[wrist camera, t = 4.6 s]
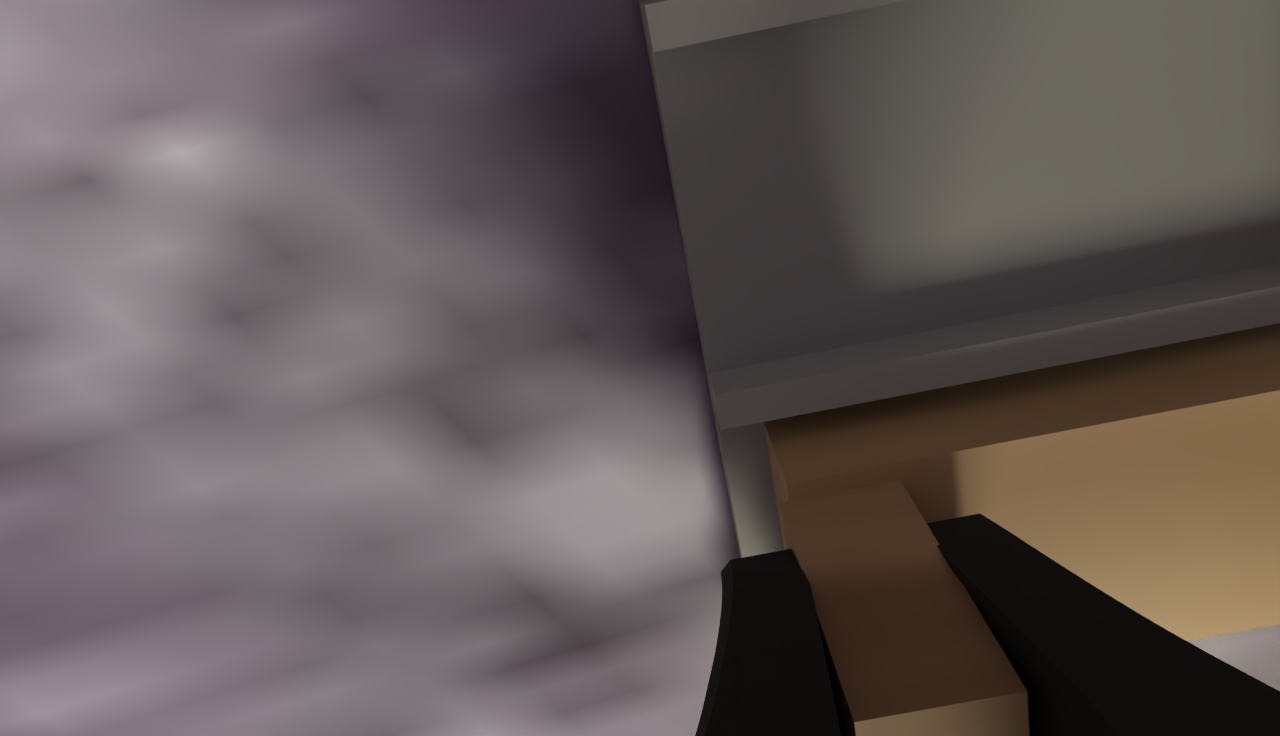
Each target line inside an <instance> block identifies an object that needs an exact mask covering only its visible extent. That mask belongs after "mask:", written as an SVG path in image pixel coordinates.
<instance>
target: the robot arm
mask: <svg viewBox="0 0 1280 736" xmlns="http://www.w3.org/2000/svg"><path fill="white" fill-rule="evenodd" d="M927 525H928V527H929V528H930V530H931V532H932V533H933V535H934V537H935V538H936V540H937V542H938V543H939V545H937V546H938V548H939V550H940V551H941V553H942V555H943V556H944V558H945V560H946V561H947V563H948V565H949V566H950V568H951V570H952V571H953V572H954V574H955V575H956V576H957V578H958V579H959V580H960V581H961V583H962V584H963V585H964V587H965V588H966V590H967V592H968V593H969V595H970V597H971V598H972V600H973V602H974V603H975V605H976V607H977V608H978V610H979V612H980V613H981V615H982V617H983V618H984V620H985V622H986V623H987V625H988V627H989V628H990V630H991V632H992V633H993V635H994V637H995V638H996V640H997V642H998V643H999V645H1000V647H1001V648H1002V650H1003V652H1004V653H1005V655H1006V657H1007V658H1008V660H1009V662H1010V663H1011V665H1012V667H1013V668H1014V670H1015V672H1016V673H1017V675H1018V677H1019V678H1020V680H1021V682H1022V683H1023V685H1024V687H1025V688H1026V690H1027V694H1028V714H1029V734H1030V736H1280V691H1278V690H1276V689H1274V688H1272V687H1270V686H1268V685H1267V684H1265V683H1263V682H1261V681H1259V680H1257V679H1255V678H1253V677H1252V676H1250V675H1248V674H1246V673H1244V672H1242V671H1240V670H1238V669H1236V668H1235V667H1233V666H1231V665H1229V664H1227V663H1225V662H1223V661H1221V660H1220V659H1218V658H1216V657H1214V656H1212V655H1210V654H1208V653H1207V652H1205V651H1203V650H1201V649H1200V648H1198V647H1196V646H1194V645H1192V644H1191V643H1189V642H1187V641H1185V640H1184V639H1182V638H1180V637H1178V636H1177V635H1175V634H1173V633H1171V632H1170V631H1168V630H1166V629H1164V628H1163V627H1161V626H1159V625H1158V624H1156V623H1154V622H1152V621H1151V620H1149V619H1147V618H1146V617H1144V616H1142V615H1141V614H1139V613H1137V612H1136V611H1134V610H1132V609H1131V608H1129V607H1127V606H1126V605H1124V604H1122V603H1121V602H1119V601H1117V600H1116V599H1114V598H1112V597H1111V596H1109V595H1108V594H1106V593H1104V592H1103V591H1101V590H1100V589H1098V588H1096V587H1095V586H1093V585H1092V584H1090V583H1088V582H1087V581H1085V580H1084V579H1082V578H1080V577H1079V576H1077V575H1076V574H1074V573H1073V572H1071V571H1069V570H1068V569H1066V568H1065V567H1063V566H1062V565H1060V564H1058V563H1057V562H1055V561H1054V560H1052V559H1051V558H1049V557H1047V556H1046V555H1044V554H1043V553H1041V552H1040V551H1038V550H1037V549H1035V548H1034V547H1032V546H1030V545H1029V544H1027V543H1026V542H1024V541H1023V540H1021V539H1020V538H1018V537H1017V536H1015V535H1014V534H1012V533H1010V532H1009V531H1007V530H1006V529H1004V528H1003V527H1001V526H1000V525H998V524H996V523H995V522H993V521H992V520H990V519H988V518H987V517H985V516H983V515H982V514H980V513H979V514H974V515H969V516H963V517H958V518H953V519H947V520H942V521H937V522H931V523H927ZM721 577H722V609H721V619H720V627H719V633H718V639H717V646H716V652H715V657H714V661H713V666H712V670H711V675H710V679H709V684H708V688H707V692H706V697H705V701H704V706H703V710H702V714H701V718H700V721H699V725H698V728H697V732H696V735H695V736H841V732H840V727H839V722H838V717H837V712H836V707H835V702H834V697H833V692H832V687H831V682H830V678H829V673H828V668H827V663H826V658H825V653H824V648H823V643H822V638H821V633H820V628H819V624H818V619H817V614H816V609H815V604H814V599H813V594H812V590H811V586H810V584H809V582H808V579H807V577H806V575H805V573H804V570H802V569H801V567H800V565H799V563H798V561H797V559H796V557H795V555H794V553H793V551H792V549H787V550H781V551H776V552H770V553H765V554H760V555H754V556H749V557H744V558H738V559H733V560H730V561H729V563H728V564H727V565H726V566H725V568H724V569H723V570H722V571H721Z"/></svg>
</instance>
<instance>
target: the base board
mask: <svg viewBox="0 0 1280 736" xmlns="http://www.w3.org/2000/svg"><path fill="white" fill-rule="evenodd" d="M639 6H640V11H641V17H642V22H643V28H644V33H645V39H646V44H647V50H648V55H649V61H650V66H651V72H652V78H653V83H654V89H655V94H656V100H657V105H658V111H659V116H660V122H661V127H662V133H663V138H664V144H665V149H666V155H667V160H668V166H669V171H670V177H671V182H672V188H673V193H674V199H675V204H676V210H677V215H678V221H679V226H680V232H681V237H682V243H683V248H684V254H685V259H686V265H687V270H688V276H689V281H690V287H691V292H692V298H693V304H694V309H695V315H696V320H697V326H698V331H699V337H700V342H701V348H702V353H703V359H704V364H705V370H706V375H707V381H708V386H709V392H710V397H711V403H712V408H713V414H714V419H715V425H716V430H717V436H718V441H719V447H720V452H721V458H722V463H723V469H724V474H725V480H726V485H727V491H728V496H729V502H730V507H731V513H732V519H733V524H734V530H735V535H736V541H737V546H738V552H739V557H740V558H744V557H749V556H754V555H760V554H765V553H770V552H776V551H781V550H784V547H783V541H782V534H781V528H780V522H779V516H778V509H777V503H776V497H775V491H774V484H773V478H772V472H771V466H770V459H769V453H768V447H767V441H766V434H765V428H764V422H766V421H771V420H776V419H781V418H787V417H792V416H797V415H802V414H807V413H813V412H818V411H823V410H828V409H834V408H839V407H844V406H849V405H854V404H860V403H865V402H870V401H875V400H881V399H886V398H891V397H896V396H901V395H907V394H912V393H917V392H922V391H928V390H933V389H938V388H943V387H948V386H954V385H959V384H964V383H969V382H975V381H980V380H985V379H990V378H995V377H1001V376H1006V375H1011V374H1016V373H1022V372H1027V371H1032V370H1037V369H1042V368H1048V367H1053V366H1058V365H1063V364H1069V363H1074V362H1079V361H1084V360H1089V359H1095V358H1100V357H1105V356H1110V355H1116V354H1121V353H1126V352H1131V351H1136V350H1142V349H1147V348H1152V347H1157V346H1163V345H1168V344H1173V343H1178V342H1183V341H1189V340H1194V339H1199V338H1204V337H1210V336H1215V335H1220V334H1225V333H1230V332H1236V331H1241V330H1246V329H1251V328H1257V327H1262V326H1267V325H1272V324H1277V323H1280V0H644V1H639Z"/></svg>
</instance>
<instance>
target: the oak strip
mask: <svg viewBox="0 0 1280 736" xmlns="http://www.w3.org/2000/svg"><path fill="white" fill-rule="evenodd" d="M764 428H765V434H766V441H767V447H768V453H769V459H770V466H771V472H772V478H773V484H774V491H775V497H776V503H777V509H778V516H779V522H780V528H781V534H782V541H783V547H784V550H787V549H792V551H793V553H794V555H795V557H796V559H797V561H798V563H799V565H800V567H801V569H802V570H804V573H805V575H806V577H807V579H808V582H809V584H810V586H811V590H812V594H813V599H814V604H815V609H816V614H817V619H818V624H819V628H820V633H821V638H822V643H823V648H824V653H825V658H826V663H827V668H828V673H829V678H830V682H831V687H832V692H833V697H834V702H835V707H836V712H837V717H838V722H839V727H840V732H841V736H1030V734H1029V714H1028V694H1027V690H1026V688H1025V687H1024V685H1023V683H1022V682H1021V680H1020V678H1019V677H1018V675H1017V673H1016V672H1015V670H1014V668H1013V667H1012V665H1011V663H1010V662H1009V660H1008V658H1007V657H1006V655H1005V653H1004V652H1003V650H1002V648H1001V647H1000V645H999V643H998V642H997V640H996V638H995V637H994V635H993V633H992V632H991V630H990V628H989V627H988V625H987V623H986V622H985V620H984V618H983V617H982V615H981V613H980V612H979V610H978V608H977V607H976V605H975V603H974V602H973V600H972V598H971V597H970V595H969V593H968V592H967V590H966V588H965V587H964V585H963V584H962V583H961V581H960V580H959V579H958V578H957V576H956V575H955V574H954V572H953V571H952V570H951V568H950V566H949V565H948V563H947V561H946V560H945V558H944V556H943V555H942V553H941V551H940V550H939V548H938V546H937V545H939V543H938V542H937V540H936V538H935V537H934V535H933V533H932V532H931V530H930V528H929V527H928V525H927V523H931V522H937V521H942V520H947V519H953V518H958V517H963V516H969V515H974V514H979V513H980V514H982V515H983V516H985V517H987V518H988V519H990V520H992V521H993V522H995V523H996V524H998V525H1000V526H1001V527H1003V528H1004V529H1006V530H1007V531H1009V532H1010V533H1012V534H1014V535H1015V536H1017V537H1018V538H1020V539H1021V540H1023V541H1024V542H1026V543H1027V544H1029V545H1030V546H1032V547H1034V548H1035V549H1037V550H1038V551H1040V552H1041V553H1043V554H1044V555H1046V556H1047V557H1049V558H1051V559H1052V560H1054V561H1055V562H1057V563H1058V564H1060V565H1062V566H1063V567H1065V568H1066V569H1068V570H1069V571H1071V572H1073V573H1074V574H1076V575H1077V576H1079V577H1080V578H1082V579H1084V580H1085V581H1087V582H1088V583H1090V584H1092V585H1093V586H1095V587H1096V588H1098V589H1100V590H1101V591H1103V592H1104V593H1106V594H1108V595H1109V596H1111V597H1112V598H1114V599H1116V600H1117V601H1119V602H1121V603H1122V604H1124V605H1126V606H1127V607H1129V608H1131V609H1132V610H1134V611H1136V612H1137V613H1139V614H1141V615H1142V616H1144V617H1146V618H1147V619H1149V620H1151V621H1152V622H1154V623H1156V624H1158V625H1159V626H1161V627H1163V628H1164V629H1166V630H1168V631H1170V632H1171V633H1173V634H1175V635H1177V636H1178V637H1180V638H1182V639H1184V640H1185V641H1192V640H1198V639H1203V638H1209V637H1214V636H1220V635H1225V634H1231V633H1236V632H1242V631H1247V630H1253V629H1258V628H1264V627H1270V626H1275V625H1280V323H1277V324H1272V325H1267V326H1262V327H1257V328H1251V329H1246V330H1241V331H1236V332H1230V333H1225V334H1220V335H1215V336H1210V337H1204V338H1199V339H1194V340H1189V341H1183V342H1178V343H1173V344H1168V345H1163V346H1157V347H1152V348H1147V349H1142V350H1136V351H1131V352H1126V353H1121V354H1116V355H1110V356H1105V357H1100V358H1095V359H1089V360H1084V361H1079V362H1074V363H1069V364H1063V365H1058V366H1053V367H1048V368H1042V369H1037V370H1032V371H1027V372H1022V373H1016V374H1011V375H1006V376H1001V377H995V378H990V379H985V380H980V381H975V382H969V383H964V384H959V385H954V386H948V387H943V388H938V389H933V390H928V391H922V392H917V393H912V394H907V395H901V396H896V397H891V398H886V399H881V400H875V401H870V402H865V403H860V404H854V405H849V406H844V407H839V408H834V409H828V410H823V411H818V412H813V413H807V414H802V415H797V416H792V417H787V418H781V419H776V420H771V421H766V422H764Z"/></svg>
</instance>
